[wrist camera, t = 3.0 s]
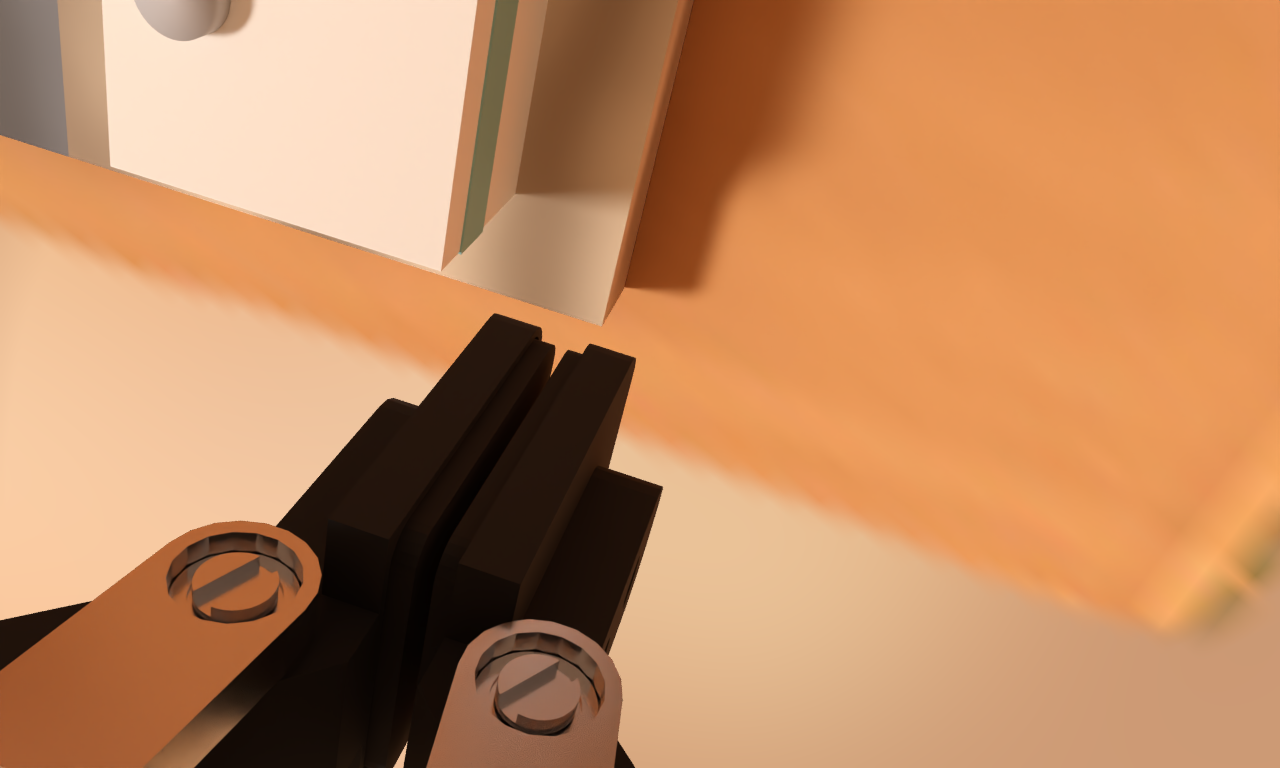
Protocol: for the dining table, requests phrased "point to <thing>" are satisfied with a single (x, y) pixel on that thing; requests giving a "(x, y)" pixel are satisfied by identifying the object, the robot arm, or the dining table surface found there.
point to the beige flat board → (551, 158)
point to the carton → (330, 110)
